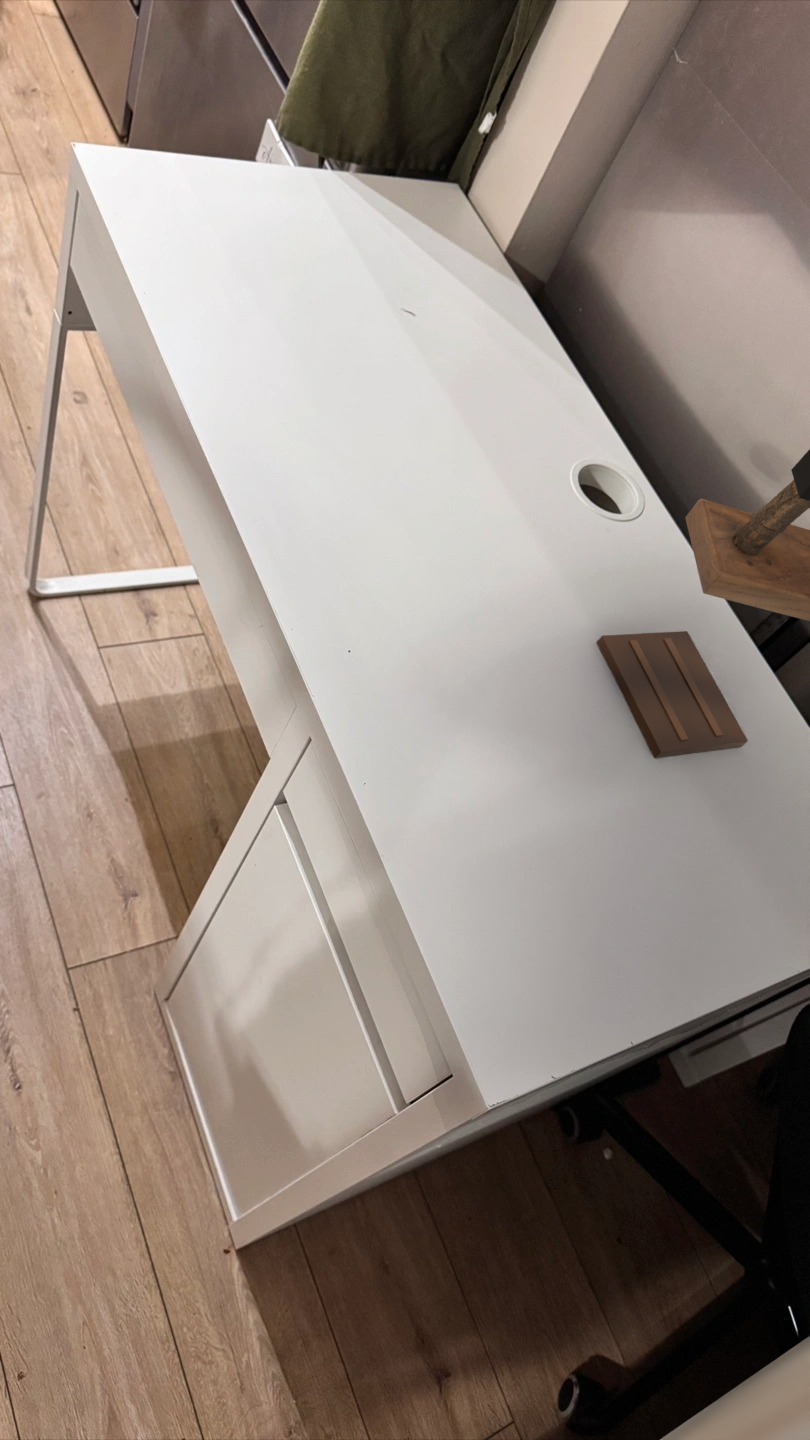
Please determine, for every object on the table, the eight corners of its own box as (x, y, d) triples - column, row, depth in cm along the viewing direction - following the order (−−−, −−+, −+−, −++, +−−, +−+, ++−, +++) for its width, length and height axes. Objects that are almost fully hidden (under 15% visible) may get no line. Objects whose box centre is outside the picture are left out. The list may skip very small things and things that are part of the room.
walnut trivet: (741, 747, 89) (749, 740, 88) (654, 758, 84) (662, 750, 83) (681, 637, 94) (688, 629, 93) (596, 642, 89) (602, 634, 88)
